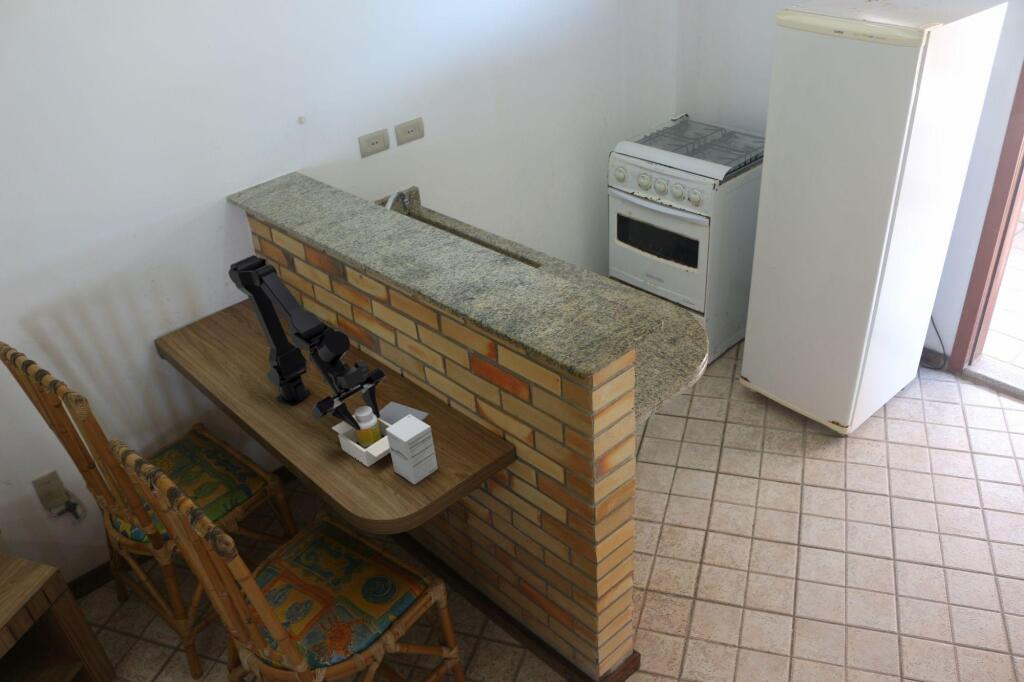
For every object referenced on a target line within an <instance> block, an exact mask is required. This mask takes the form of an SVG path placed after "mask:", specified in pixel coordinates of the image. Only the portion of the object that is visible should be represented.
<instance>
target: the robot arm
mask: <svg viewBox="0 0 1024 682" xmlns="http://www.w3.org/2000/svg"><path fill="white" fill-rule="evenodd" d="M228 275H229V276H228V277H229V278H230V280H231V282H233V284H234V285H235V287H236V288H237V289H238V290H239V291H240V292H242V293H243V294H245V296H247V297H248V300H249V302H250V304H251V306H252V308H253V311H254V313H255V316H256V319H257V320H258V322H259V325H260V327H261V330H262V332H263V334H264V336H265V338H266V341H267V343H268V346H269V347H270V348H269V349H270V350H269V356H268V362H269V366H270V369H269V370H268V372H267V374H266V376H267V378H268V381H269V382H270V383H272V384H273V385H274V386H277V388H278V390H279V394H280V395H279V396H277V397H276V400H277V401H279V402H282V403H284V404H287V405H290V406H296V405H297V404H299V403H300V402H301V401H303V399H305V398H307V396H309V395H310V394H311V391H310V390H308V389H306V387H305V384H304V381H303V378H302V376H303V375H305V374H307V371H308V370H307V368H308V366H307V364H308V363H307V359H306V357H305V356H304V355H303V353H302V350H303V351H308V352H309V356H308V360H309V361H310V362H313V364H314V365H315V367H316V369H317V370H318V371H319V373H320V374H321V376H322V377H323V383H324V384H325V385H326V384H327V385H328V387H329V388H330V390H331V391H332V393H333V394H332V397H331V396H330V395H328V396H326V397H325V398H323V399H321V400H319V401H318V402H316V403H315V404H314V405H313V407H312V408H311V415H312V416H313V418H314V420H315V421H317V420H319V419H321V418H323V417H324V416H326V415H327V416H328V418H331V417H335V419H338V420H341V422H342V421H344V422H346V423H347V424H349V425H350V426H352V427H353V428H355V429H356V430H358V431H359V430H360V429H361V428H360V426H359V425H358V423H357V422H356V420H355V419H354V418H353V416H352V415H353V414H351V412H350V411H349V410H348V406H347V404H346V401H345V400H347V399H349V398H351V397H352V396H354V395H355V394H357V393H359V392H360V391H361V393H362V394H361V396H360V397H361V398H362V400H363V401H364V403H365V405H366V406H369V407H371V408H372V412H373V414H374V415H376V417H377V418H380V413H379V411H380V410H379V406H378V403H377V396H376V389H377V388H378V386H379V384H380V383H381V382H382V381H383V380H385V378H386V377H387V375H388V374H386V373H385V371H384V369H383V368H379V367H376V368H375V369H373V370H371V371H370V368H369V366H368V364H367V363H366V362H365V361H364V359H360V360H358V361H357V362H355V363H354V366H353V367H350V365H349V364H348V363H347V362H346V363H344V361H343V360H342V358H343V357H344V356H345V354H346V353H347V352H348V351H349V349H350V346H351V341H350V338H349V336H348V335H347V334H345V333H344V332H342V331H339V330H335V328H333V327H332V326H329V325H328V324H326V323H325V322H323V321H322V320H321V319H319V317H318V316H317V315H316V314H315V313H313V312H311V311H308V310H306V309H305V308H303V306H302V305H301V304H300V303H299V301H298V300H297V299H296V297H295V296H294V295H293V294H292V292H291V291H290V289H289V288H288V287H287V285H285V283H284V282H283V280H282V279H281V278H280V277H279V275H278V272H277V269H276V268H275V266H273V265H272V264H270V263H269V260H268V258H263V257H258V256H256V255H255V254H252V255H250V256H247V257H246V258H243V259H240V260H239V261H236V262H234V263H231V264H230V268H229V270H228ZM275 308H276V309H277V310H276V309H275ZM277 311H278V312H277ZM278 313H279V314H281V315H282V317H283V319H284V320H285V321H286V322H287V324H288V335H289V336H290V337H291V340H292V343H291V342H290V341H289V339H288V336H287V334H286V332H285V329H284V327H283V324H282V323H281V320H280V317H279V315H278ZM344 401H345V402H344ZM342 402H343V403H342Z"/></svg>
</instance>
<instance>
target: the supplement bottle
mask: <svg viewBox="0 0 1024 682" xmlns="http://www.w3.org/2000/svg"><path fill="white" fill-rule="evenodd" d="M354 414H355V416H356V418H355V420H356V422H357V423H358V425H359V426H360V428H361V429H360V430H359V431H358V430H356V433H357V437H358V442H357V443H358V445H359V446H360V447H362V448H363V449H366V448H368V447H370V446H371V445H373V444H374V443H376V442H377V441H379V440H381V439H382V434H380V429H379V425H378V420H377V417H376V415H374V414H373V412H372V408H371V407H369V406H368V405H363V406H362V405H361V406H359V407H357V408H356V409H355V411H354Z"/></svg>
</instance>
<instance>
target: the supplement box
mask: <svg viewBox="0 0 1024 682" xmlns="http://www.w3.org/2000/svg"><path fill="white" fill-rule="evenodd" d="M386 433H387V437H388V442H389V447H390V455H391V460H392V465H393V470H394V472H395V473H397V474H398V475H400V476H401V477H403V478H404V479H406V480H407V481H408V482H409V483H410V484H412V485H416V484H418V483H419V482H421V481H422V480H423V479H425V478H426V477H428V476H429V475H431V474H433V473H434V472H435V471H437V470H438V461H437V457H436V456H437V455H436V451H435V445H434V439H433V433H432V426H431V425H429V424H427V423H426V422H425V421H421V420H419V419H417V418H416V417H414V416H412V415H411V414H409V415H407V416H406V417H404V418H402V419H401V420H399V421H398V422H396V423H395V424H393V425H391V426H390V427H388V428H387V429H386Z"/></svg>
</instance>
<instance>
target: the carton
mask: <svg viewBox="0 0 1024 682" xmlns="http://www.w3.org/2000/svg"><path fill="white" fill-rule="evenodd" d="M351 415H352V416H353V418H354V419H355V418H356V416H355V413H354V414H351ZM377 420H378V425H379V429H380V434H381V436H384V437H381V440H379V441H377V442H376V443H374V444H373V445H371V446H370V447H368V448H366V449H363V448H362V447H360V445H359V444H357V443H359V442H358V437H357V433H356V429H355V428H353V427H352V426H350V425H349V424H347V423H346V422H344V421H342V420H341V422H339V423H337V424H336V425H334V426H332V427H331V429H332V430H333V431H335V432H336V433H338V439H339V443H340V446H341V450H342V451H343V452H345V453H347V454H348V455H349V456H351V457H353V458H354V459H355V458H356V459H355V460H357V461H358V460H359V462H360V463H361V462H362V465H364V466H366V467H368V468H369V467H370V466H372V465H373V464H375V463H376V462H378V461H380V460H381V459H382V458H384V457H385V456H387V455H388V454H391V452H390V447H389V442H388V437H387V433H386V429H387V428H388V427H390V426H391V425H390V424H389V423H387V422H385V421H384V420H382V419H380V418H377Z"/></svg>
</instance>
